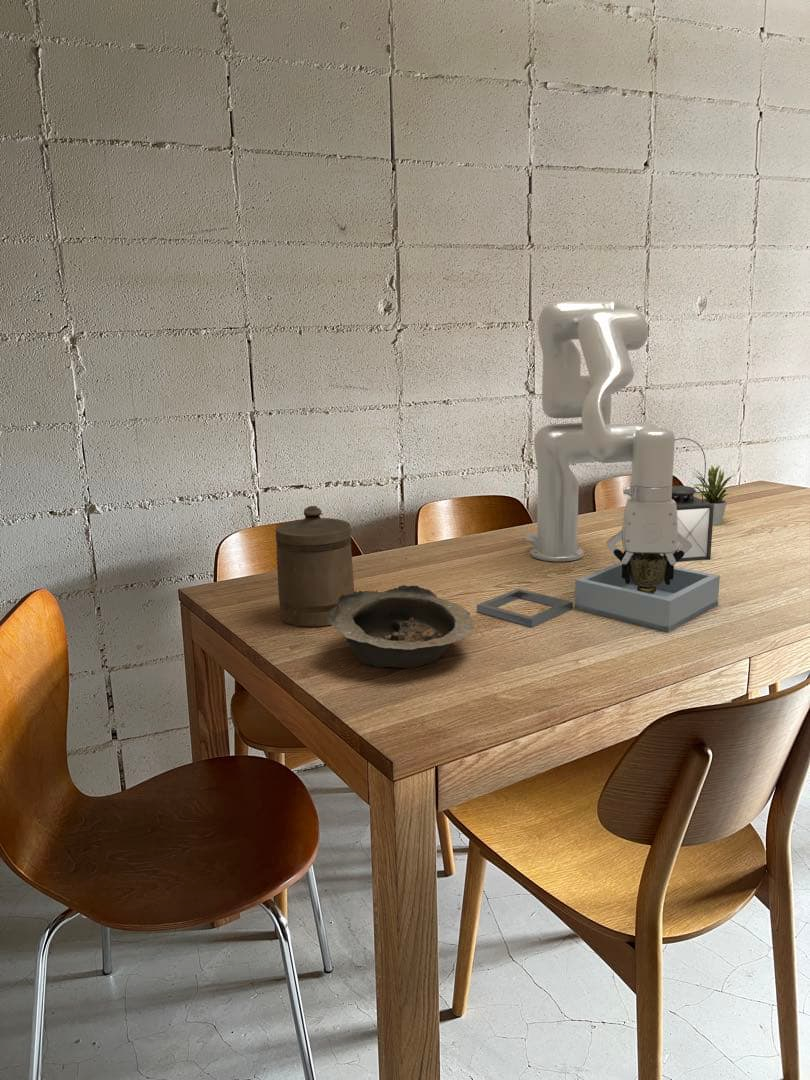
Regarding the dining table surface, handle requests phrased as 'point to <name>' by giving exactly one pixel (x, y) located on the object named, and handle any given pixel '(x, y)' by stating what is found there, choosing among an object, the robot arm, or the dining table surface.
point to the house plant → (714, 493)
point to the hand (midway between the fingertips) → (647, 581)
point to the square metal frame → (491, 610)
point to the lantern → (694, 521)
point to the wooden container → (313, 567)
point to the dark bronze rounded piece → (647, 571)
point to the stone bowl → (399, 625)
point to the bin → (647, 597)
